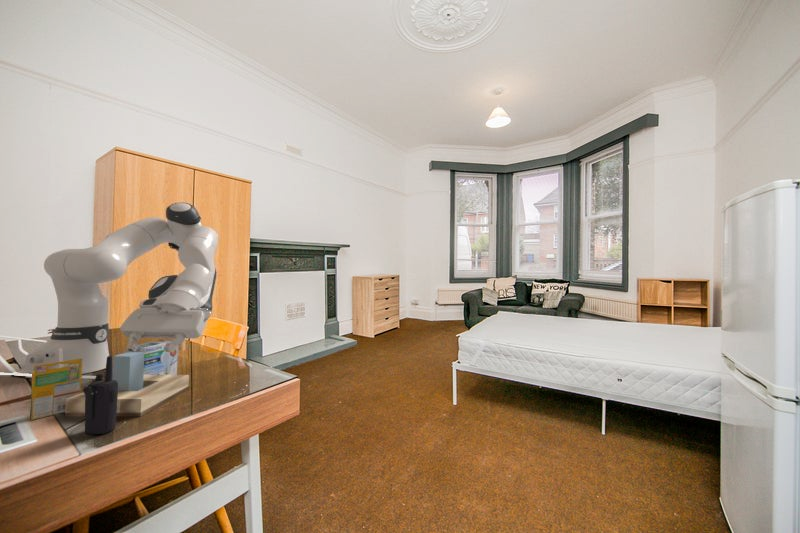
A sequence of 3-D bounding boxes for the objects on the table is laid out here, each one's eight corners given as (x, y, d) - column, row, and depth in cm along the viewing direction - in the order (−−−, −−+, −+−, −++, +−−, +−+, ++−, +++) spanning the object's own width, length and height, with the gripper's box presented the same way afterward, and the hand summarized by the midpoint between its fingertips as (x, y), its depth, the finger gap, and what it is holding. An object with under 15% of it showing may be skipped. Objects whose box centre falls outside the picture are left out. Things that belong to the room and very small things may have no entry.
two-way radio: (120, 428, 61) (123, 354, 61) (95, 440, 57) (99, 360, 57) (98, 425, 62) (101, 352, 62) (71, 437, 57) (75, 358, 58)
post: (111, 403, 71) (113, 356, 71) (126, 396, 75) (128, 351, 75) (128, 403, 71) (130, 356, 71) (142, 396, 75) (144, 352, 75)
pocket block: (65, 416, 65) (65, 398, 66) (128, 388, 81) (128, 374, 81) (140, 416, 66) (141, 399, 66) (188, 388, 82) (189, 374, 82)
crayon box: (78, 405, 71) (80, 356, 71) (80, 408, 69) (83, 358, 70) (29, 416, 65) (32, 363, 65) (30, 420, 63) (33, 365, 64)
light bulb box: (142, 387, 82) (144, 348, 83) (123, 385, 84) (124, 346, 84) (178, 375, 93) (179, 340, 93) (160, 373, 94) (162, 338, 95)
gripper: (217, 315, 89) (195, 357, 79) (148, 314, 89) (116, 356, 79) (209, 301, 85) (184, 344, 75) (135, 300, 84) (100, 343, 74)
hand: (148, 350), depth 77 cm, fingers open, 8 cm apart
